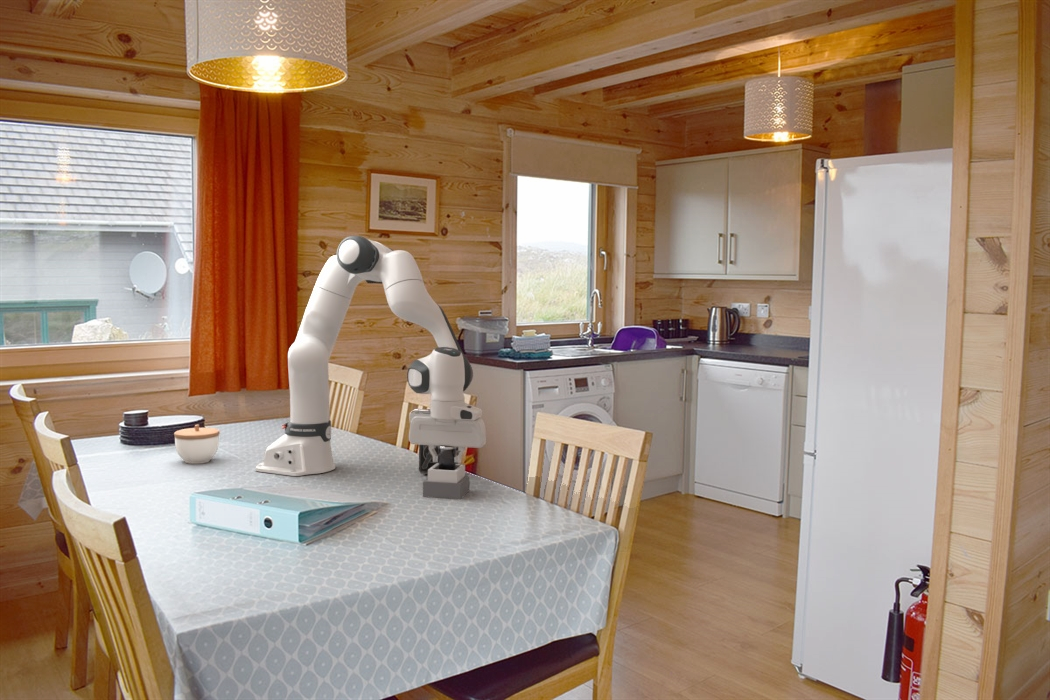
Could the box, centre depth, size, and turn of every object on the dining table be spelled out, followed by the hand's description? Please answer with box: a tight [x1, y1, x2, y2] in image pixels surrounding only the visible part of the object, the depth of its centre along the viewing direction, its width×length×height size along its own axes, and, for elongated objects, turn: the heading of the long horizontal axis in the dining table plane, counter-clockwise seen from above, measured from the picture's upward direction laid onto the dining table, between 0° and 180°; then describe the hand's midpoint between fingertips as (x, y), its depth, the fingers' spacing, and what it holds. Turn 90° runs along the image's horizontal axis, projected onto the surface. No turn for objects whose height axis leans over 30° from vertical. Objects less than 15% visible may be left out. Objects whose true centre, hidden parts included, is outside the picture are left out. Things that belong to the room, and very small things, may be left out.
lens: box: [438, 446, 456, 470], centre depth 209 cm, size 5×5×7 cm
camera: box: [418, 445, 460, 476], centre depth 231 cm, size 10×10×15 cm
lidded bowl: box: [173, 424, 220, 465], centre depth 241 cm, size 13×13×11 cm
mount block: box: [422, 463, 470, 500], centre depth 209 cm, size 10×9×7 cm
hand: (447, 462), depth 209 cm, fingers closed on lens, 4 cm apart
